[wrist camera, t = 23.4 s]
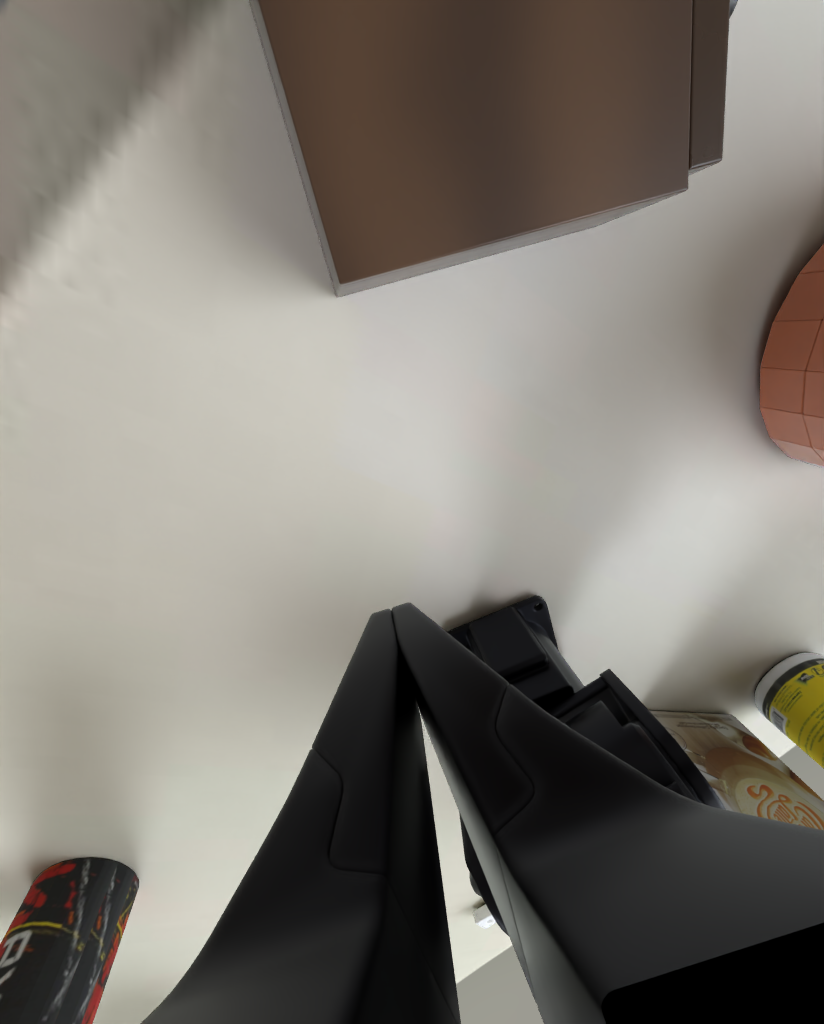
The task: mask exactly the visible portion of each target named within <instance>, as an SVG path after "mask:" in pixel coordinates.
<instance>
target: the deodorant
mask: <svg viewBox="0 0 824 1024" xmlns="http://www.w3.org/2000/svg"><path fill="white" fill-rule="evenodd" d="M138 888H139V880H138V878H137V876H136V874H135V873H134V872H133V871H132V870H131V869H130V868H129V867H127V866H125V865H123V864H121V863H119V862H116V861H112V860H108V859H100V858H80V859H73V860H69V861H64V862H61V863H58V864H56V865H53V866H51V867H49V868H48V869H46V870H45V871H43V872H42V873H41V874H40V875H39V876H38V877H37V878H36V879H35V880H34V882H33V884H32V886H31V888H30V890H29V892H28V894H27V895H26V897H25V899H24V901H23V903H22V905H21V907H20V908H19V910H18V912H17V914H16V916H15V918H14V920H13V922H12V923H11V925H10V927H9V929H8V931H7V933H6V935H5V937H4V938H3V940H2V942H1V944H0V1024H92V1023H93V1020H94V1017H95V1014H96V1011H97V1009H98V1006H99V1003H100V1000H101V997H102V994H103V991H104V988H105V985H106V982H107V979H108V976H109V973H110V970H111V967H112V964H113V962H114V959H115V956H116V953H117V950H118V947H119V944H120V941H121V938H122V935H123V932H124V929H125V926H126V923H127V920H128V917H129V915H130V912H131V909H132V906H133V903H134V900H135V897H136V894H137V891H138Z"/></svg>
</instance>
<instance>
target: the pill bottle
mask: <svg viewBox="0 0 824 1024" xmlns="http://www.w3.org/2000/svg"><path fill="white" fill-rule="evenodd" d="M755 703H756V706H757V708H758V710H759V711H760V712H761V713H762V715H764V716H765V717H766V718H767V719H768V720H769V721H770V722H771V723H772V724H773V725H775V726H776V727H777V728H778V729H779V730H780V731H781V732H782V733H784V734H785V735H786V736H787V737H788V738H789V739H791V740H792V741H793V742H794V743H795V744H796V745H797V746H799V747H800V748H801V749H802V750H803V751H804V752H806V753H807V754H808V755H809V756H810V757H811V758H812V759H813V760H815V761H816V762H817V763H818V764H819V765H820V766H821V767H823V768H824V656H822V655H819V654H815V653H800V654H797V655H794V656H791V657H789V658H787V659H785V660H783V661H782V662H780V663H779V664H777V665H776V666H775V667H773V668H772V669H771V670H770V671H769V672H768V673H767V674H766V675H765V676H764V677H763V678H762V680H761V681H760V683H759V684H758V686H757V689H756V692H755Z"/></svg>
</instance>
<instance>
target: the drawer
mask: <svg viewBox="0 0 824 1024" xmlns="http://www.w3.org/2000/svg"><path fill="white" fill-rule="evenodd" d="M737 1H738V0H692V42H691V85H690V128H689V171H688V176H689V175H691V174H693V173H696V172H698V171H700V170H702V169H705V168H707V167H709V166H712V165H714V164H716V163H719V162H720V161H721V160H722V152H723V132H724V112H725V92H726V72H727V52H728V32H729V18H730V16H731V15H732V13H733V11H734V9H735V6H736V4H737Z"/></svg>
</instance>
